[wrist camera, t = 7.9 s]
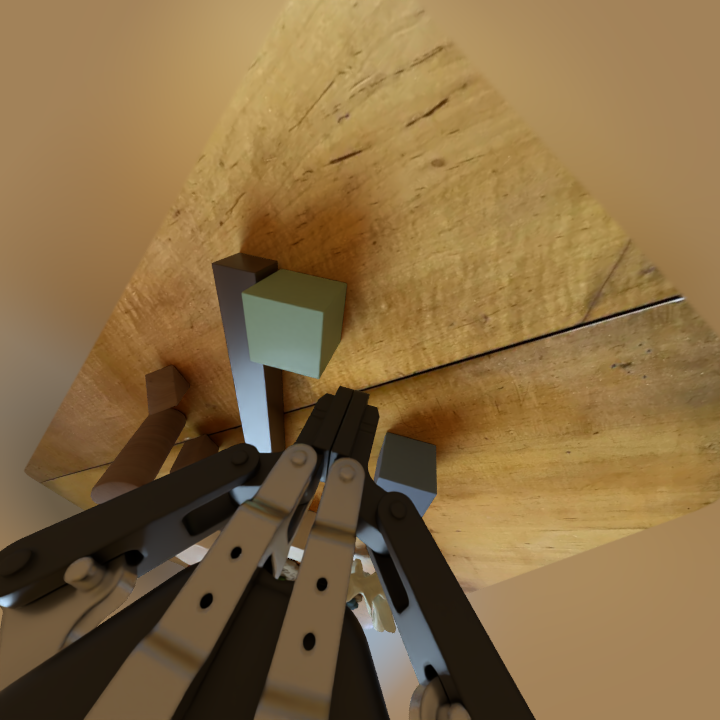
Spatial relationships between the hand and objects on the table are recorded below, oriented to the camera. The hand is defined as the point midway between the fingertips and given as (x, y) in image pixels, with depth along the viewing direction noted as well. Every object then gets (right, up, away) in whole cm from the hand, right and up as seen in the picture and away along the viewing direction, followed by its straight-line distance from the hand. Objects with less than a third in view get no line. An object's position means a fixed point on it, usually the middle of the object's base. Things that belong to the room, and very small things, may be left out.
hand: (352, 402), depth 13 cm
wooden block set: (-20, -6, +20) cm, 29 cm away
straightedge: (-10, -6, +17) cm, 20 cm away
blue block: (+5, -8, +14) cm, 17 cm away
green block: (-3, +6, +7) cm, 10 cm away
